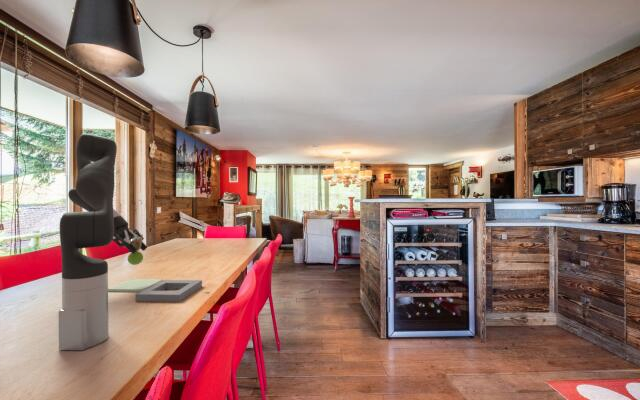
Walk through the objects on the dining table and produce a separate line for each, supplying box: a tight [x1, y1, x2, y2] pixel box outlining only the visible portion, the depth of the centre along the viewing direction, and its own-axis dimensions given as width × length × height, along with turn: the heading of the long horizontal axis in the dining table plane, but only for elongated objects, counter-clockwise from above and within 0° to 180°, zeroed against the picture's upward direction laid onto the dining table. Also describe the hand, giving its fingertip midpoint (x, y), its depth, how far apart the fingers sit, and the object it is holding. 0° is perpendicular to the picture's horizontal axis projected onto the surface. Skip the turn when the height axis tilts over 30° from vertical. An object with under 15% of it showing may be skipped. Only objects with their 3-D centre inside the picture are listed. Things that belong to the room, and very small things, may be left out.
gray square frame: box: [134, 279, 203, 303], centre depth 114 cm, size 18×16×2 cm
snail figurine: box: [127, 234, 144, 266], centre depth 122 cm, size 5×6×12 cm
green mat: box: [108, 278, 164, 293], centre depth 122 cm, size 14×14×1 cm
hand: (140, 250), depth 122 cm, fingers closed on snail figurine, 6 cm apart
